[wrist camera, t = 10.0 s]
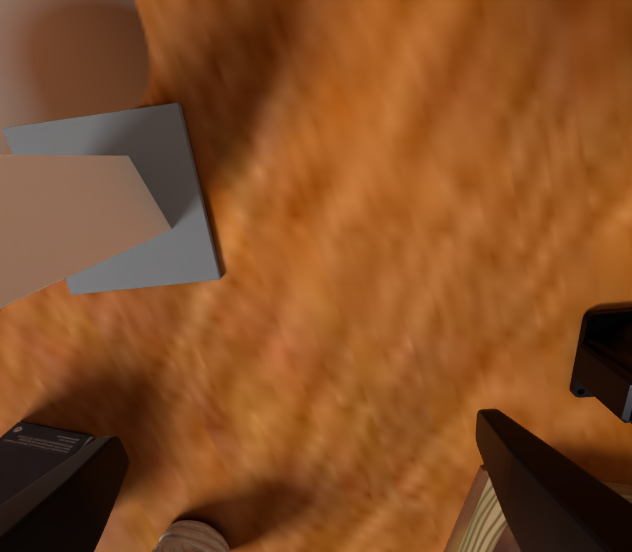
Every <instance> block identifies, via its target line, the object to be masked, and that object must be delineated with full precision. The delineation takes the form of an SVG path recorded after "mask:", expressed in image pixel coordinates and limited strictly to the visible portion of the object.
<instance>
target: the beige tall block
mask: <svg viewBox="0 0 632 552" xmlns="http://www.w3.org/2000/svg"><path fill="white" fill-rule="evenodd" d="M171 229H172V228H171V227H170V225H169V223H168V222H167V220H166V218H165V217H164V215H163V213H162V212H161V210H160V208H159V207H158V205H157V203H156V201H155V200H154V198H153V196H152V195H151V193H150V191H149V190H148V188H147V186H146V185H145V183H144V181H143V180H142V178H141V176H140V174H139V173H138V171H137V169H136V168H135V166H134V164H133V163H132V161H131V159H130V158H129V156H96V155H0V309H1V308H3V307H5V306H7V305H9V304H12V303H14V302H16V301H18V300H20V299H22V298H25V297H27V296H29V295H31V294H33V293H35V292H38V291H40V290H42V289H44V288H46V287H48V286H50V285H53V284H55V283H57V282H59V281H61V280H63V279H66V278H68V277H70V276H72V275H74V274H76V273H78V272H81V271H83V270H85V269H87V268H89V267H91V266H94V265H96V264H98V263H100V262H102V261H104V260H107V259H109V258H111V257H113V256H115V255H117V254H119V253H122V252H124V251H126V250H128V249H130V248H132V247H135V246H137V245H139V244H141V243H143V242H145V241H147V240H150V239H152V238H154V237H156V236H158V235H160V234H163V233H165V232H167V231H169V230H171ZM0 311H1V310H0Z"/></svg>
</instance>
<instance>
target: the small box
mask: <svg viewBox="0 0 632 552" xmlns="http://www.w3.org/2000/svg"><path fill="white" fill-rule="evenodd" d="M92 442H93V437H92V436H89V435H84V434H78V433H73V432H68V431H62V430H58V429H53V428H48V427H43V426H39V425H34V424H28V423H22V422H18V423H17V424H16V425H15V426H13V427H12V428H11V429H10V430H9V431H8V432H6V433H5V434H4V435H3V436H2V437H1V438H0V506H1V505H2V504H4V503H5V502H6V501H8V500H9V499H11V498H12V497H14V496H15V495H17V494H18V493H19V492H21V491H22V490H24V489H25V488H27V487H28V486H30V485H31V484H32V483H34V482H35V481H37V480H38V479H40V478H41V477H43V476H44V475H45V474H47V473H48V472H50V471H51V470H53V469H54V468H56V467H57V466H58V465H60V464H61V463H63V462H64V461H66V460H67V459H69V458H70V457H71V456H73V455H74V454H76V453H77V452H79V451H80V450H82V449H83V448H85V447H86V446H87V445H89V444H90V443H92Z"/></svg>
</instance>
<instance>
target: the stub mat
mask: <svg viewBox="0 0 632 552" xmlns="http://www.w3.org/2000/svg"><path fill="white" fill-rule="evenodd" d="M2 129H3V132H4V134H5V137H6V139H7V141H8V144H9V146H10V149H11V151H12V153H13V155H96V156H129V158H130V159H131V161H132V163H133V164H134V166H135V168H136V169H137V171H138V173H139V174H140V176H141V178H142V180H143V181H144V183H145V185H146V186H147V188H148V190H149V191H150V193H151V195H152V196H153V198H154V200H155V201H156V203H157V205H158V207H159V208H160V210H161V212H162V213H163V215H164V217H165V218H166V220H167V222H168V223H169V225H170V227H171V228H172V229H171V230H169V231H167V232H165V233H163V234H160V235H158V236H156V237H154V238H152V239H150V240H147V241H145V242H143V243H141V244H139V245H137V246H135V247H132V248H130V249H128V250H126V251H124V252H122V253H119V254H117V255H115V256H113V257H111V258H109V259H107V260H104V261H102V262H100V263H98V264H96V265H94V266H91V267H89V268H87V269H85V270H83V271H81V272H78V273H76V274H74V275H72V276H70V277H68V278H66V279H65V280H66V283H67V285H68V287H69V290H70V292H71V295H74V294H83V293H93V292H103V291H113V290H122V289H132V288H142V287H151V286H161V285H171V284H181V283H190V282H200V281H210V280H220V279H221V278H222V276H221V272H220V268H219V264H218V259H217V255H216V251H215V247H214V242H213V238H212V234H211V230H210V225H209V221H208V217H207V213H206V209H205V204H204V200H203V196H202V192H201V187H200V183H199V179H198V175H197V171H196V166H195V162H194V158H193V154H192V149H191V145H190V141H189V137H188V133H187V128H186V124H185V120H184V116H183V111H182V107H181V104H180V103H172V104H165V105H158V106H151V107H144V108H138V109H131V110H124V111H118V112H110V113H104V114H97V115H90V116H83V117H76V118H69V119H62V120H55V121H49V122H41V123H35V124H28V125H21V126H15V127H7V128H2Z"/></svg>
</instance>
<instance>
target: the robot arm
mask: <svg viewBox="0 0 632 552" xmlns="http://www.w3.org/2000/svg"><path fill="white" fill-rule="evenodd" d="M594 318H595V319H594ZM592 319H594V320H593V321H592ZM579 389H580V390H579ZM570 392H571V393H572V394H573V395H574V396H576V397H580V398H581V397H596V398H597V399H598V400H599V401H600V402H602V403H603V404H604V405H605V406H606V407H607V408H608V409H609V410H610V411H612V412H613V413H614V414H615V415H616V416H617V417H618V418H619V419H621V420H622V421H623V422H625V423H631V424H632V308H622V309H611V310H600V311H591V312H588V313H586V314H585V315H584V317H583V319H582V325H581V330H580V335H579V341H578V346H577V351H576V357H575V362H574V367H573V373H572V378H571V383H570ZM476 442H477V446H478V449H479V451H480V454H481V457H482V459H483V462H484V465H485V467H486V470H487V473H488V475H489V478H490V480H491V483H492V486H493V488H494V491H495V494H496V496H497V499H498V502H499V504H500V507H501V509H502V512H503V514H504V517H505V519H506V521H507V523H508V526H509V528H510V530H511V532H512V534H513V536H514V538H515V540H516V542H517V544H518V546H519V548H520V550H521V552H632V503H631V502H630V501H628V500H627V499H625V498H624V497H623V496H621V495H620V494H618V493H617V492H615V491H614V490H613V489H611V488H610V487H608V486H607V485H605V484H604V483H603V482H601V481H600V480H598V479H597V478H595V477H594V476H593V475H591V474H590V473H588V472H587V471H585V470H584V469H582V468H581V467H580V466H578V465H577V464H575V463H574V462H572V461H571V460H570V459H568V458H567V457H565V456H564V455H562V454H561V453H560V452H558V451H557V450H555V449H554V448H552V447H551V446H550V445H548V444H547V443H545V442H544V441H542V440H541V439H540V438H538V437H537V436H535V435H534V434H532V433H531V432H529V431H528V430H527V429H525V428H524V427H522V426H521V425H519V424H518V423H517V422H515V421H514V420H512V419H511V418H509V417H508V416H507V415H505V414H504V413H502V412H501V411H499V410H497V409H481V410H479V411H478V413H477V422H476ZM129 462H130V460H129V456H128V453H127V451H126V449H125V446H124V444H123V442H122V439H121V438H120V437H119V436H118V435H107V436H101V437H99V438H98V439H96V440H95V441H93V442H92V443H90V444H89V445H87V446H86V447H85V448H83V449H82V450H80V451H79V452H77V453H76V454H74V455H73V456H71V457H70V458H69V459H67V460H66V461H64V462H63V463H61V464H60V465H58V466H57V467H56V468H54V469H53V470H51V471H50V472H48V473H47V474H45V475H44V476H43V477H41V478H40V479H38V480H37V481H35V482H34V483H32V484H31V485H30V486H28V487H27V488H25V489H24V490H22V491H21V492H19V493H18V494H17V495H15V496H14V497H12V498H11V499H9V500H8V501H6V502H5V503H4V504H2V505H1V506H0V552H94V550H95V548H96V546H97V544H98V542H99V540H100V538H101V536H102V533H103V531H104V528H105V526H106V524H107V521H108V519H109V516H110V514H111V511H112V509H113V506H114V503H115V501H116V498H117V496H118V493H119V491H120V488H121V486H122V483H123V481H124V478H125V476H126V473H127V471H128V468H129Z"/></svg>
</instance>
